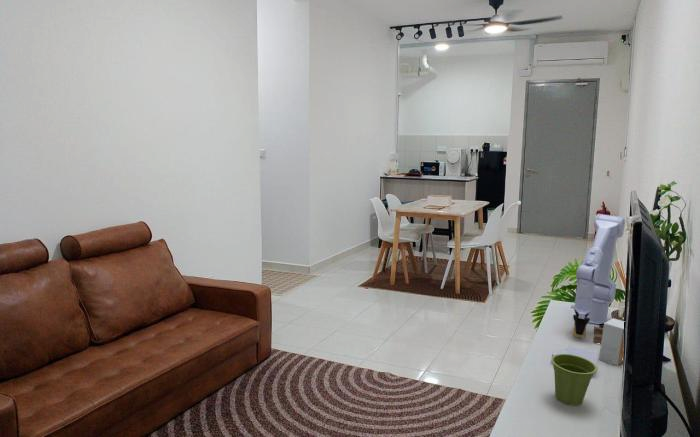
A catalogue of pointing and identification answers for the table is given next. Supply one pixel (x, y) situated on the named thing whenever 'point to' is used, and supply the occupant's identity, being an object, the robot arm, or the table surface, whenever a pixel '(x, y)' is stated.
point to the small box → (612, 342)
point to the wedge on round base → (577, 353)
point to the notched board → (597, 334)
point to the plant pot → (572, 377)
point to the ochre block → (577, 334)
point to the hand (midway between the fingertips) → (579, 330)
